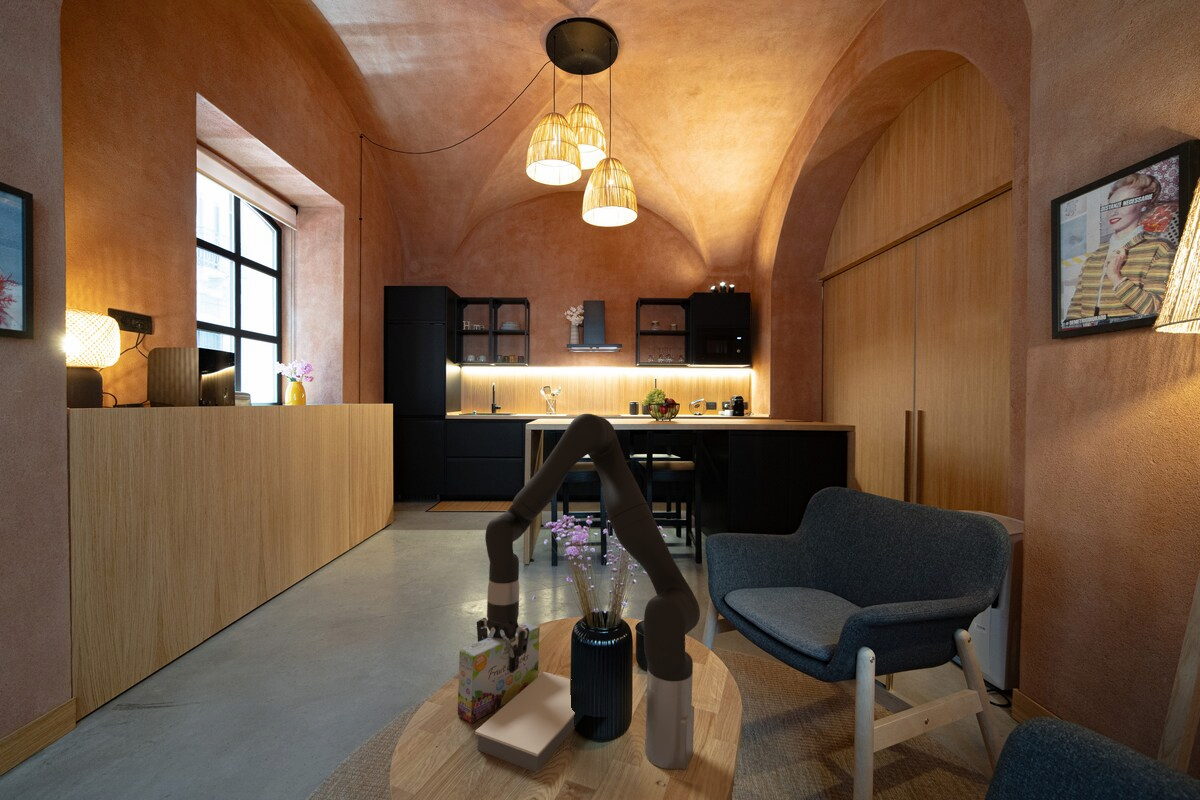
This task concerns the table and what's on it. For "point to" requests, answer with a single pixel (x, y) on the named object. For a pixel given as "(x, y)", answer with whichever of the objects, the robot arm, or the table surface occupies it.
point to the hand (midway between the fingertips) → (501, 667)
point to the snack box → (494, 674)
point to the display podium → (530, 723)
